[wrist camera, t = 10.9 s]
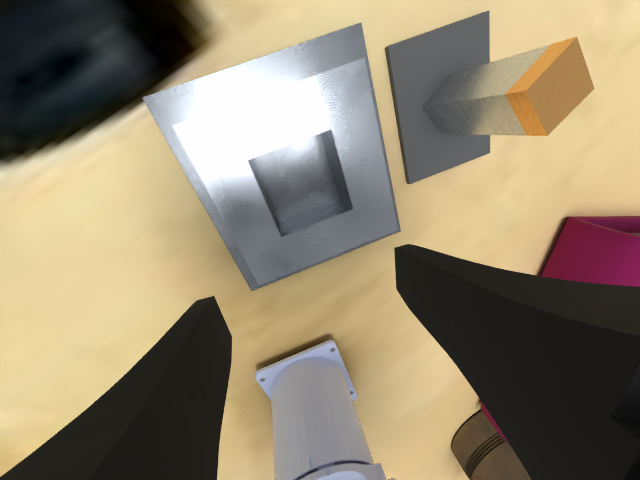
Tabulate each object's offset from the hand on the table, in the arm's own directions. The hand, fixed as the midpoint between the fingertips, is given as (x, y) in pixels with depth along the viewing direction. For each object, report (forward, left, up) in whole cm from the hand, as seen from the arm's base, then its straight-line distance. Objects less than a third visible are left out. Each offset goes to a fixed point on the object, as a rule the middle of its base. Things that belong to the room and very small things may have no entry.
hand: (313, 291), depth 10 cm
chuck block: (+3, -2, -10) cm, 10 cm away
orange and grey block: (+4, -13, -9) cm, 17 cm away
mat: (+4, -13, -10) cm, 17 cm away
